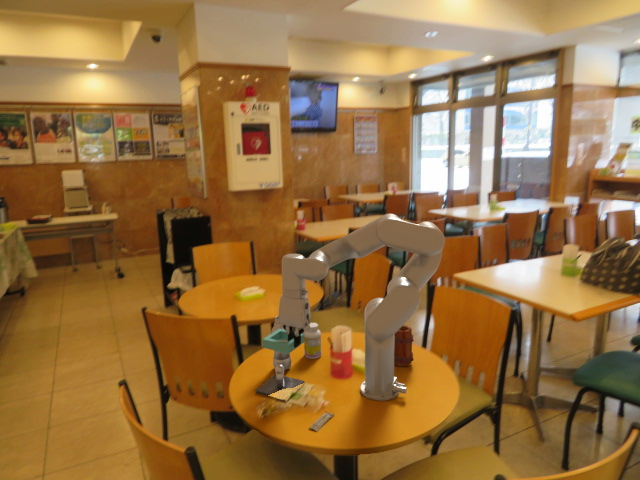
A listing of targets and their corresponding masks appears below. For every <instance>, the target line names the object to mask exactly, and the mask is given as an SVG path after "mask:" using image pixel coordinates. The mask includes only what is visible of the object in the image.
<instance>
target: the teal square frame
mask: <svg viewBox="0 0 640 480" xmlns="http://www.w3.org/2000/svg"><path fill="white" fill-rule="evenodd" d="M280 339H283V340H287V341H288V334H286V331H285V330H284V329H280V328H279V329H278V330H276V331H275V332H273V333H270V334H268V335H267V336H265V337H263V338H262V348H264V349H267V350H271V351H273V352H274V351H278V352H282V353H286V354H289V353H290V354H292V352H293V351H295V350H296V349H297V348H298V347H300V346H301V345H303V344H304V333H302V334H301V344H300V345H299V346H298V347H296V348H295V347H294V338H293V339H292V340H290V341H288V342H283V341H279V340H280Z"/></svg>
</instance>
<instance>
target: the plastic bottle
mask: <svg viewBox="0 0 640 480" xmlns="http://www.w3.org/2000/svg"><path fill="white" fill-rule="evenodd" d="M278 323H279V315H277V316H275V317H274V326H273V327H272V328H271V333H270V334H272V333H273V332H275V331H276V330H278V329H279V328H280V329H284V328H283V327H282V326H280V325H279V324H278ZM284 330H285V329H284ZM279 341H283V342H288V341H287V340H283V339H280V340H279ZM272 364H273V367H274V368H275V367H276V366H277V365H279V364H281V365H283V366H284V371H287V370H289V369H290V368H291V366H292V357H291V353H289V354H286V353H282V352H278V351H274V350H273V359H272Z"/></svg>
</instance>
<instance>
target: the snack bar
mask: <svg viewBox="0 0 640 480" xmlns="http://www.w3.org/2000/svg"><path fill="white" fill-rule="evenodd" d="M334 416H335V413H333V412H332V413H331V412H330V413H329V412H327V411H325V412H323V414H322V415H321V416H320V417H318V419H317V420H315V422H314V423H312V424H310V426H309V427H308V428H309V429H311V430H312V431H314V432H319V431H320V430H321V429H322V427H323V426H325V425H326V424H327V422H328V421H329V420H331V418H332V417H334Z"/></svg>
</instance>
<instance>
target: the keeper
mask: <svg viewBox="0 0 640 480" xmlns="http://www.w3.org/2000/svg"><path fill="white" fill-rule="evenodd" d="M274 371H275V373H274V374H273V375H272V376H271V377H270V378H268V379H267V380H266V381H265V382H264V383H263V384H262V385H260V386H259V387H258V388H257V389H256V390H255V394H257V395H261V396H265V397H268V395H270V394H272V393H275V392H277V391H279V390H282V389H286V388H294V387H296V386H298V385H300V384H303V383H305V380H302V379H299V378H294V377H289V376H285V374H284V373H285V370H284V366H283V365H281V364H279V365H277V366H276V367H274Z"/></svg>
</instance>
